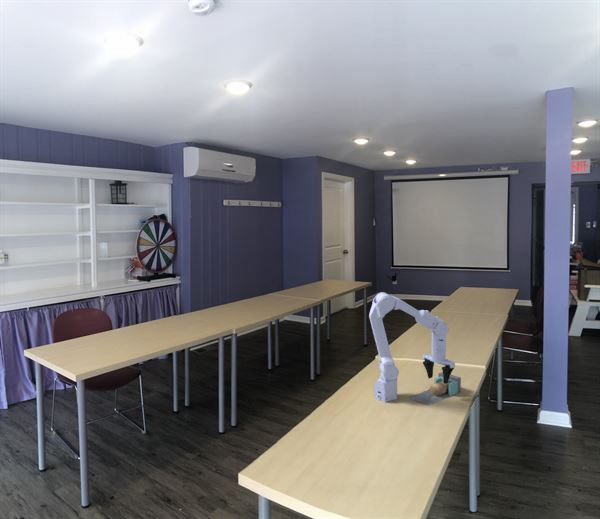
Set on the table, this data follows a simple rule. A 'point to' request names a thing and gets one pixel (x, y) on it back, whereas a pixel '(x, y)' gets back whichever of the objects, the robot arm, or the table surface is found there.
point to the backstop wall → (453, 379)
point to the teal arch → (452, 385)
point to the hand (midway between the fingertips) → (437, 380)
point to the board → (429, 397)
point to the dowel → (439, 388)
